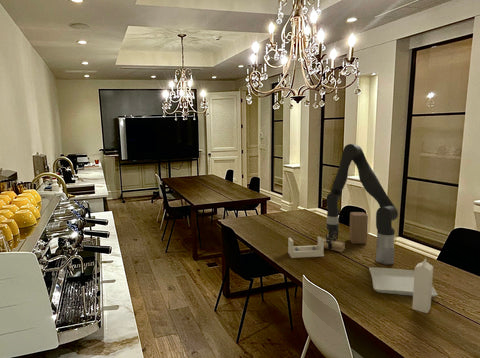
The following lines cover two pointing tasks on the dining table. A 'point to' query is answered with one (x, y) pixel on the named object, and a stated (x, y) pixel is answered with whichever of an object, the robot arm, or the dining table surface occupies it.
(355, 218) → the wooden block
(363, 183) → the robot arm
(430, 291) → the milk
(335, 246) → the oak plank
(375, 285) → the square plate
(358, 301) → the dining table surface
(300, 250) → the peg cradle
